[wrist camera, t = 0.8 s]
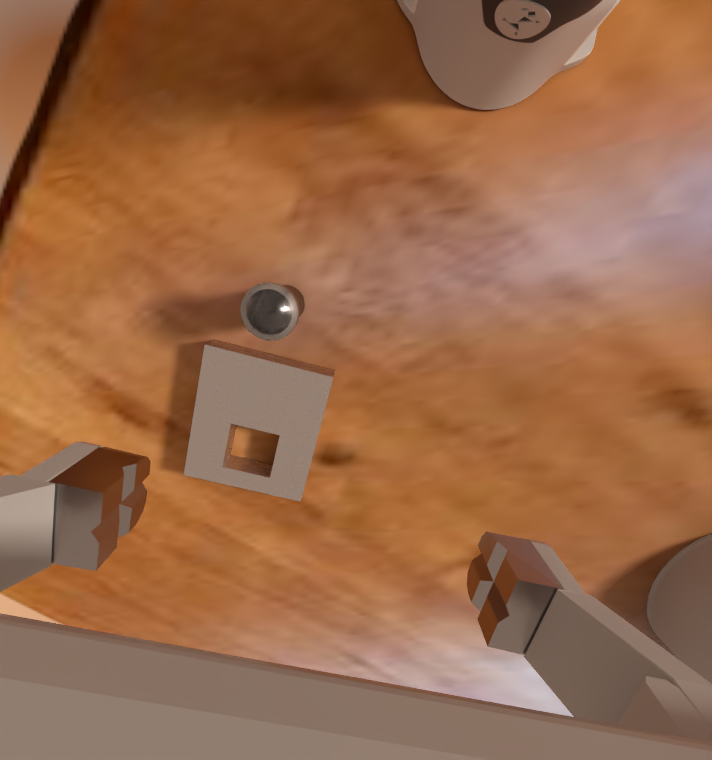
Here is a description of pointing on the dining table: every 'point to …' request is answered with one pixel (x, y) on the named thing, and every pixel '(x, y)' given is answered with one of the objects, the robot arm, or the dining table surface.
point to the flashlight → (271, 310)
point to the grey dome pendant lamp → (685, 606)
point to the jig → (256, 417)
